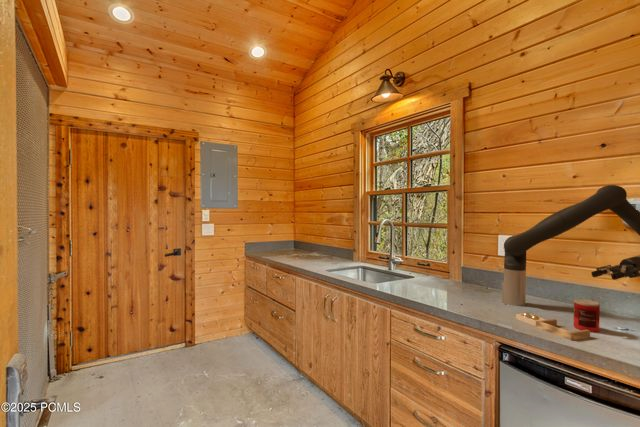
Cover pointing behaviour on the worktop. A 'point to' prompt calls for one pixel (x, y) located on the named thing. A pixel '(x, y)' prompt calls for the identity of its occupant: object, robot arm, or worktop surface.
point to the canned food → (586, 315)
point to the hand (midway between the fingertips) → (602, 275)
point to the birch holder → (561, 330)
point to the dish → (527, 319)
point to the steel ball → (527, 315)
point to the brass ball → (535, 317)
